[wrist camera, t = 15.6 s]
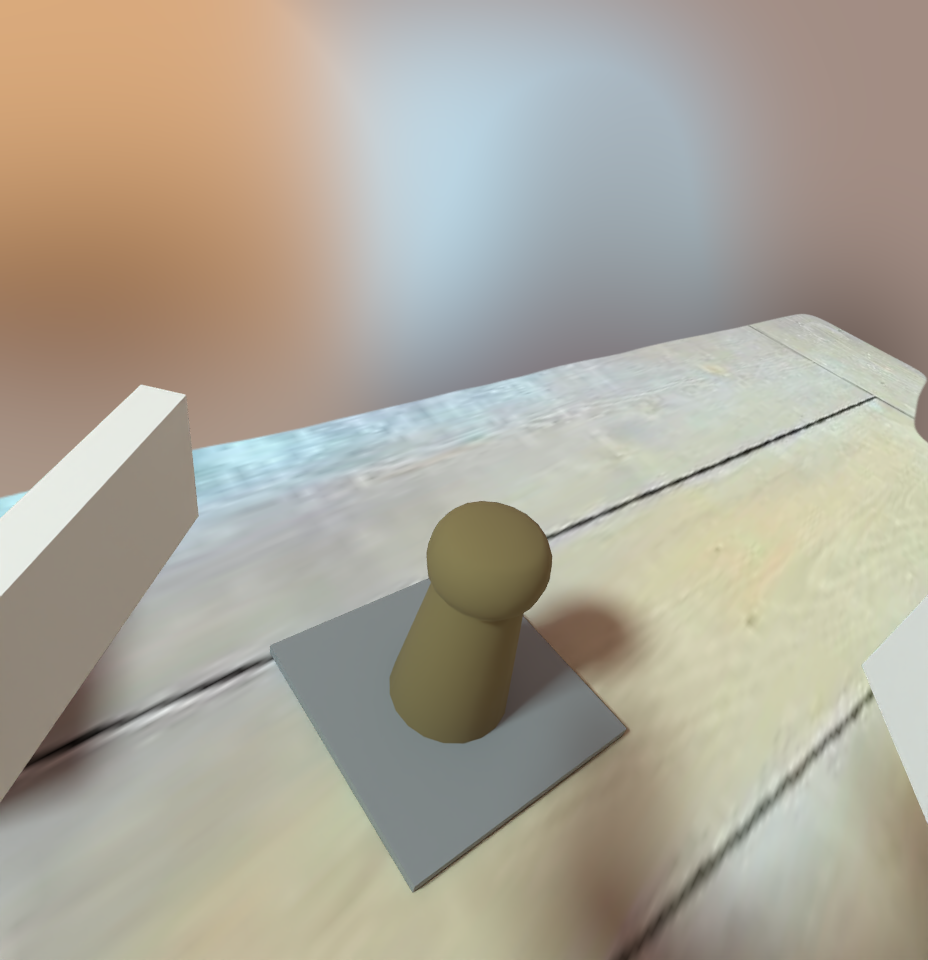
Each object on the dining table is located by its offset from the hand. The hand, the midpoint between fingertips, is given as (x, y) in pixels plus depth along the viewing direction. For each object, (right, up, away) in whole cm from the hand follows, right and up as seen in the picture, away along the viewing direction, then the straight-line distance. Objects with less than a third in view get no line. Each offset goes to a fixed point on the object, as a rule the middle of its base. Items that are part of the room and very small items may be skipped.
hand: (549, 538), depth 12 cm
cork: (-2, -10, +21) cm, 23 cm away
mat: (-2, -10, +22) cm, 24 cm away
